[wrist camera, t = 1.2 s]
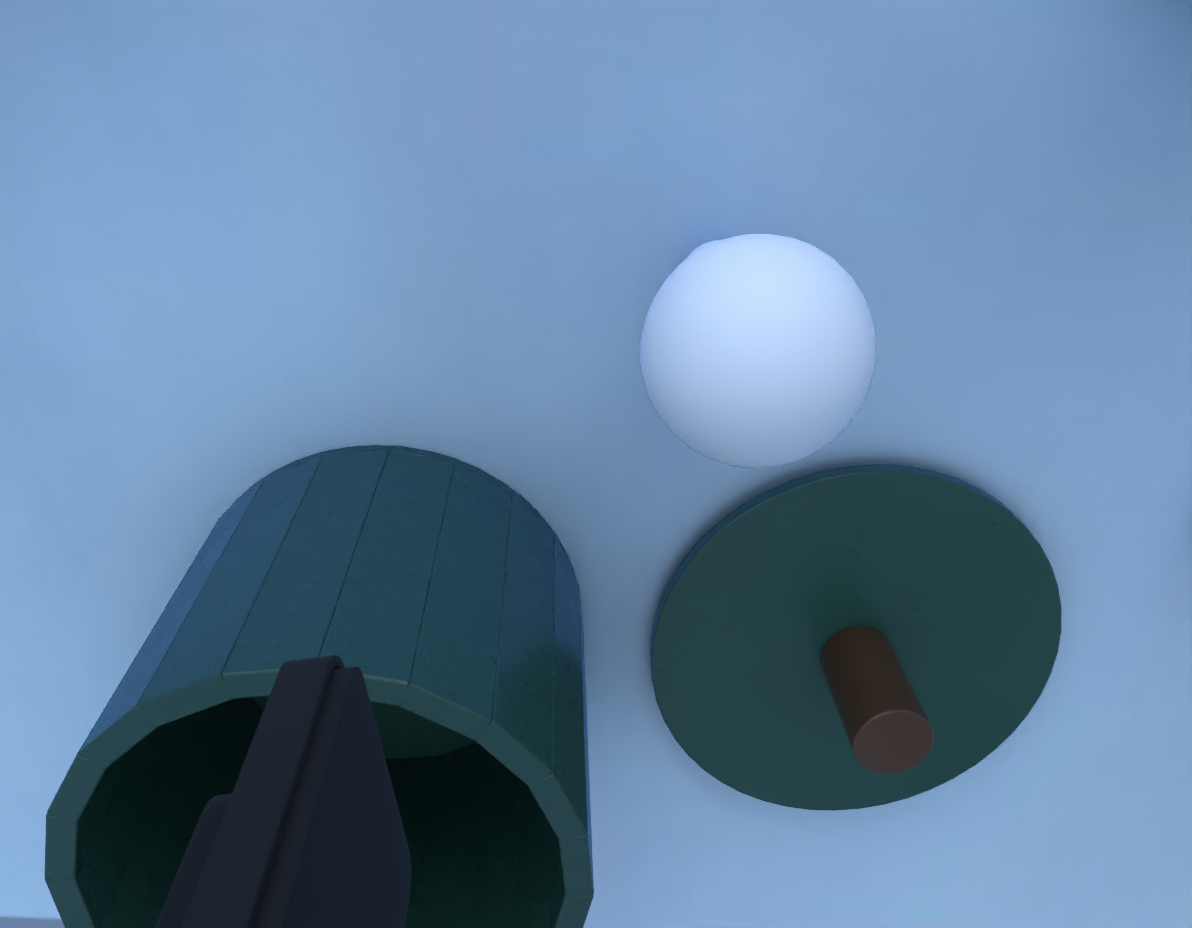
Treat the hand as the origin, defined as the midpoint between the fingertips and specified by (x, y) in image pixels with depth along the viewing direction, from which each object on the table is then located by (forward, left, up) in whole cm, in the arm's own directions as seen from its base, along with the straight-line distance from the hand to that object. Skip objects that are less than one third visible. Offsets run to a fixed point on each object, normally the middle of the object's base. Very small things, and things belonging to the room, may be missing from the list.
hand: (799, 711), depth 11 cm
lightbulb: (-2, +3, -25) cm, 25 cm away
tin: (+14, +11, -25) cm, 31 cm away
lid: (-2, +19, -24) cm, 31 cm away
